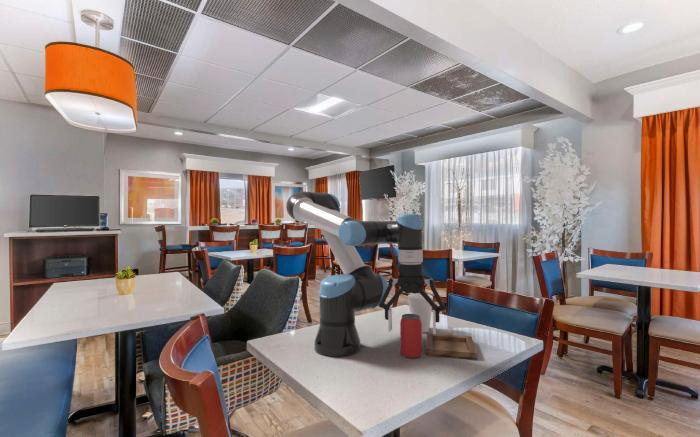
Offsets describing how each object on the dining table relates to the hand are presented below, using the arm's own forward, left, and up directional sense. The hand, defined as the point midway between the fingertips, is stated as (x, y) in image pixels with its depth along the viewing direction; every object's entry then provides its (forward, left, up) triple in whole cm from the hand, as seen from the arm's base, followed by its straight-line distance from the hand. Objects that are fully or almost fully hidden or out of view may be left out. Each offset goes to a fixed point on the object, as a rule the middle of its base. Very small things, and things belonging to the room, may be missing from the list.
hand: (412, 331), depth 102 cm
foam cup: (+2, +25, -8) cm, 26 cm away
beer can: (0, 0, -8) cm, 8 cm away
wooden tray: (+12, +8, -7) cm, 16 cm away
